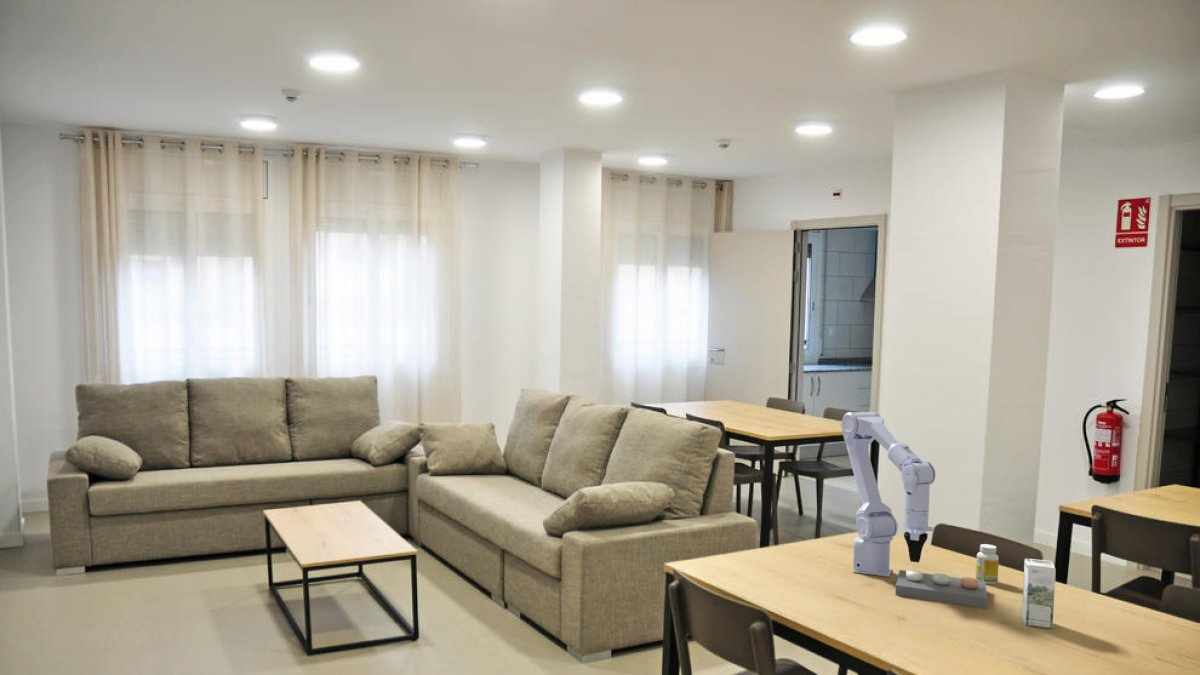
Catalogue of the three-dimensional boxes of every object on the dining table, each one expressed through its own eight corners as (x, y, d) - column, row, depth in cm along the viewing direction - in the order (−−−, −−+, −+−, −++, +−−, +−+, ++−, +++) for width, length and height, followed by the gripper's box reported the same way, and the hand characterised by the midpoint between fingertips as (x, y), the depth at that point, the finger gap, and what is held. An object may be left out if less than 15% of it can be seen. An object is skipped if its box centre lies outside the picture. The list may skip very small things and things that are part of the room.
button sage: (932, 591, 216) (932, 577, 216) (932, 586, 220) (933, 572, 220) (949, 593, 215) (949, 579, 215) (949, 588, 219) (950, 574, 218)
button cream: (905, 587, 219) (905, 573, 219) (906, 582, 223) (906, 569, 222) (921, 589, 217) (922, 575, 217) (922, 585, 221) (923, 571, 221)
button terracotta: (960, 595, 214) (960, 580, 214) (960, 590, 218) (960, 576, 217) (977, 597, 212) (978, 583, 212) (977, 592, 216) (977, 578, 216)
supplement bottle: (971, 580, 228) (973, 545, 228) (981, 577, 232) (983, 542, 231) (991, 586, 224) (993, 550, 224) (1001, 582, 228) (1002, 546, 227)
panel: (895, 594, 215) (895, 585, 215) (899, 579, 228) (899, 569, 228) (986, 608, 207) (987, 598, 207) (985, 591, 220) (985, 581, 220)
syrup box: (1048, 621, 199) (1051, 559, 199) (1053, 630, 194) (1055, 566, 193) (1021, 617, 201) (1024, 556, 201) (1025, 626, 195) (1027, 563, 195)
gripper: (932, 517, 211) (930, 571, 212) (934, 505, 224) (932, 556, 225) (902, 513, 214) (900, 567, 214) (906, 502, 227) (904, 552, 228)
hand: (914, 561), depth 220 cm, fingers closed
